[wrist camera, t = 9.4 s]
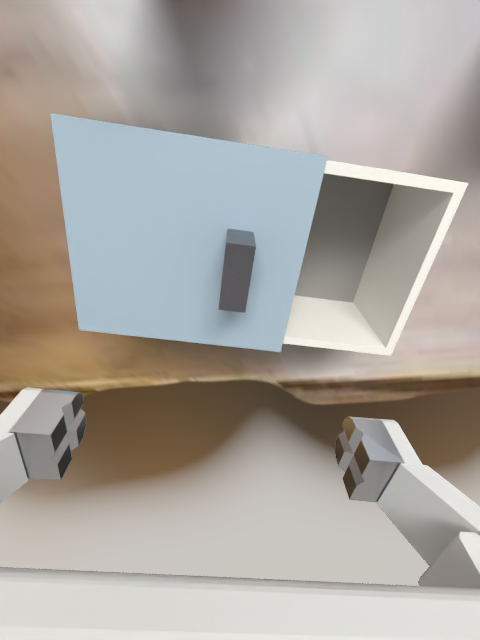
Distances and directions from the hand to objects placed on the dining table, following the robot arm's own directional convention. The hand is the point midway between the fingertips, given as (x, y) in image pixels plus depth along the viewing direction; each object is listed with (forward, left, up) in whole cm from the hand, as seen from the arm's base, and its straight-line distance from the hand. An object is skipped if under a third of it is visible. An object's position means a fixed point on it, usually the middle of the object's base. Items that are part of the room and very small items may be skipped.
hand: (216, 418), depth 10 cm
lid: (-3, -1, -18) cm, 18 cm away
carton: (+8, -1, -30) cm, 31 cm away
